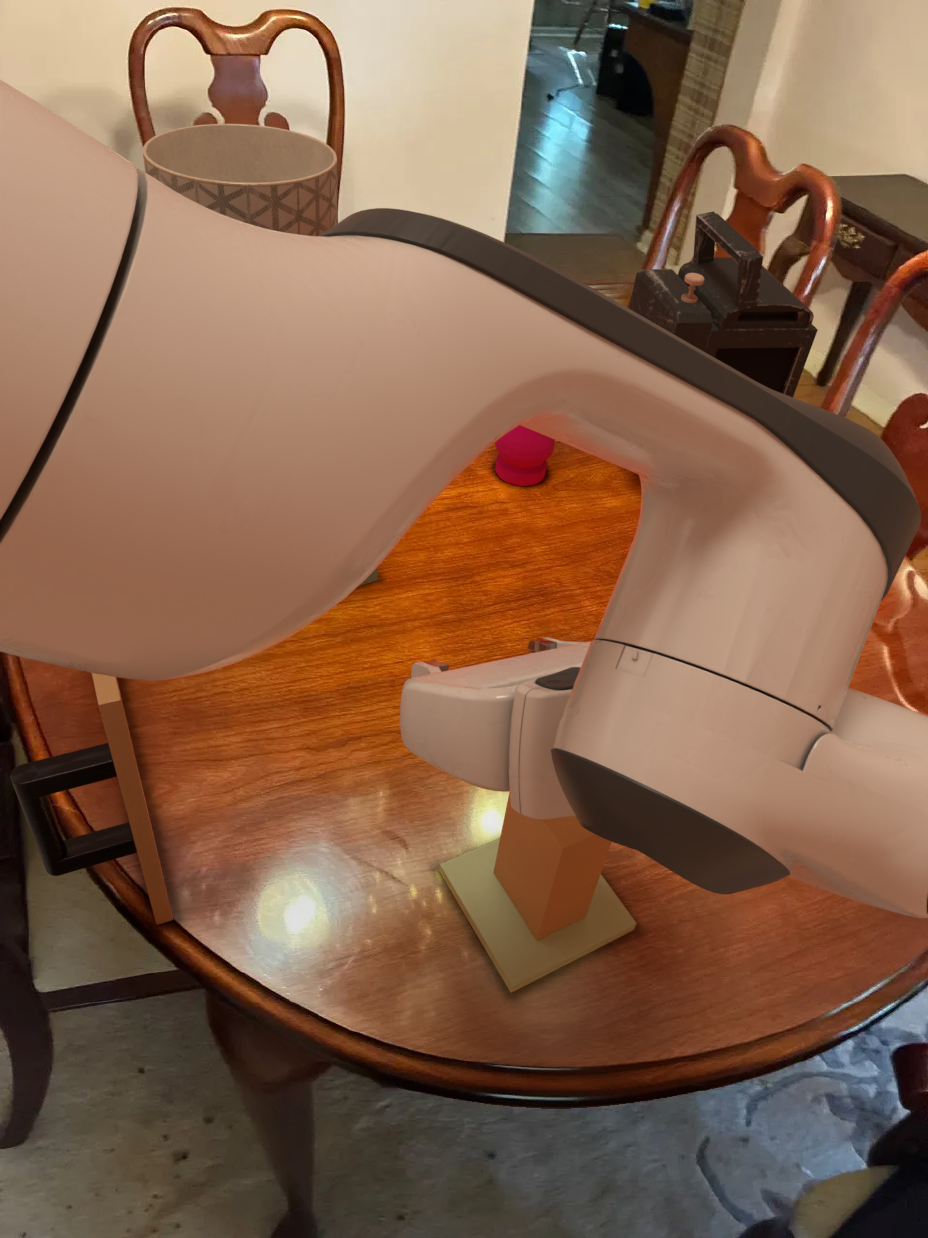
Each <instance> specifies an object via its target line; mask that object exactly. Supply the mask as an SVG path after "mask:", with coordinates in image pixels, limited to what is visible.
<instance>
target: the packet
mask: <svg viewBox="0 0 928 1238" xmlns="http://www.w3.org/2000/svg"><path fill="white" fill-rule="evenodd" d="M499 838H500V842H499V847H498V852H497V856H496V861H495V866H494V871H493V872H494V874H495V875H496V877H497V879H498V880H499V882H500V883H501V885H502V886H503V888H504V890H505V891H506V893H507V894H508V896H509V898H510V899H511V901H512V902H513V904H514V906H515V907H516V909H517V910H518V912H519V914H520V915H521V917H522V918H523V920H524V921H525V923H526V925H527V926H528V928H529V929H530V931H531V933H532V934H533V936H534V937H535V939H536V941H538V940H540V939H542V938H544V937H546V936H548V935H550V934H552V933H554V932H556V931H559V930H561V929H563V928H565V927H567V926H569V925H571V924H573V923H575V922H577V921H579V920H581V919H583V918H585V917H586V915H587V912H588V909H589V906H590V903H591V901H592V898H593V895H594V892H595V889H596V886H597V883H598V880H599V877H600V874H601V875H602V872H603V869H604V865H605V864H606V863H605V862H606V860H607V857H608V854H609V852H610V848H611V845H612V843H613V842H611V841H609V840H606V839H604V838H602V837H600V836H598V835H596V834H594V833H592V832H590V831H588V830H586V829H585V828H583V827H582V826H581V824H580V823H579V821H578V819H577V817H576V816H568V817H561V818H554V819H546V820H536V819H531V818H528V817H526V816H523V815H521V814H520V813H518V812H516V811H515V810H514V809H513V808H512V807H511V802H510V792H508V798H507V802H506V807H505V813H504V818H503V822H502V826H501V833H500V837H499Z"/></svg>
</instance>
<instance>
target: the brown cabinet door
mask: <svg viewBox="0 0 928 1238" xmlns="http://www.w3.org/2000/svg"><path fill="white" fill-rule="evenodd" d="M91 677H92V681H93V687H94V691H95V696H96V700H97V706H98V710H99V713H100V717H101V721H102V724H103V728H104V732H105V736H106V739H107V742H105V743H102V744H98V745H93V746H90V747H86V748H81V749H78V750H74V751H69V752H65V753H61V754H57V755H53V756H50V757H46V758H41V759H37V760H32V761H30V762H25V763H21V764H19V765H17V766H15V767H14V769H12V770H11V773H10V776H9V778H10V781H11V784H12V786H13V789H14V791H15V794H16V797H17V799H18V802H19V805H20V806H21V810H22V811H23V814H24V817H25V820H26V822H27V825H28V827H29V830H30V831H31V835H32V837H33V840H34V842H35V845H36V848H37V851H38V852H39V855H40V858H41V860H42V862H43V865H44V868H45V871H46V873H47V874H48V875H50V876H53V877H59V876H62V875H63V876H64V875H66V874H69V873H73V872H76V871H79V870H83V869H87V868H90V867H93V866H97V865H100V864H104V863H107V862H110V861H113V860H117V859H120V858H123V857H127V856H130V855H134V854H137V856H138V861H139V866H140V868H141V872H142V876H143V880H144V883H145V887H146V891H147V895H148V898H149V902H150V906H151V910H152V913H153V917H154V920H155V921H154V922H155V925H156V926H159V925H161V924H164V923H169V922H171V921H173V920H174V916H173V911H172V907H171V903H170V900H169V895H168V890H167V886H166V882H165V878H164V874H163V870H162V865H161V861H160V860H161V859H160V856H159V852H158V848H157V842H156V839H155V835H154V830H153V826H152V822H151V819H150V814H149V813H150V812H149V810H148V804H147V801H146V797H145V793H144V788H143V784H142V780H141V776H140V775H141V774H140V771H139V767H138V762H137V758H136V755H135V750H134V745H133V740H132V738H131V737H132V736H131V733H130V727H129V724H128V719H127V716H126V712H125V706H124V702H123V698H122V694H121V690H120V685H119V682H118V677H113V676H107V675H101V674H95V673H91ZM114 778H117V781H118V785H119V789H120V793H121V796H122V800H123V804H124V808H125V812H126V815H127V819H128V821H127V822H123V823H120V824H117V825H113V826H110V827H106V828H102V829H99V830H95V831H92V832H88V833H84V834H81V835H77V836H73V837H69V838H67V839H64V836H63V833H62V830H61V828H60V825H59V822H58V819H57V816H56V813H55V811H54V810H55V809H54V808H53V805H52V803H51V799H50V797H49V796H50V795H53V794H56V793H60V792H64V791H65V792H66V791H68V790H71V789H76V788H80V787H82V786H87V785H91V784H94V783H98V782H102V781H106V780H109V779H114Z"/></svg>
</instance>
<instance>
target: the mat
mask: <svg viewBox="0 0 928 1238" xmlns="http://www.w3.org/2000/svg"><path fill="white" fill-rule="evenodd" d="M499 842H500V837H499V838H495V839H494V840H491V841H490V842H487V843H485V844H482V845H480V846H477V847H476V848H473V849H471V850H468V851H466V852H464V853H462V854H459V855H457V856H454V857H453V858H450V859H447V860H445V861H443V862H440V863H439V866H438V872H439V874H440V876H441V877H442V879H443V881H444V882H445V884H446V886H447V887H448V889H449V891H450V892H451V894H452V896H453V897H454V899H455V901H456V902H457V904H458V907H460V910H461V911H462V913H463V914H464V916H465V918H466V919H467V921H468V922H469V924H470V927H471V928H472V930H473V931H474V933H475V935H476V937H477V938H478V940H479V941H480V943H481V945H482V946H483V948H484V950H485V952H486V954H487V955H488V957H489V958H490V961H491V962H492V964H493V965H494V967H495V969H496V970H497V972H498V974H499V976H500V977H501V979H502V981H503V982H504V984H505V986H506V987H507V990H508V991H509V992H510V993H511V994H512V993H514V992H516V991H518V990H519V989H521V988H523V987H525V986H527V985H529V984H532V983H534V982H535V981H537V980H539V979H541V978H543V977H545V976H547V975H548V974H551V973H552V972H555V971H557V970H559V969H561V968H563V967H565V966H566V965H568V964H570V963H572V962H574V961H576V960H578V959H580V958H582V957H584V956H586V955H589V954H590V953H592V952H594V951H595V950H598V949H600V948H601V947H604V946H606V945H607V944H610V943H612V942H614V941H615V940H617V939H619V938H621V937H622V936H625V935H627V934H628V933H631V932H632V931H635V928H636V925H637V922H636V921H635V920H636V919H634V917H633V916H632V915H631V914H630V912H629V911H628V909H627V908H626V906H625V905H624V904H623V903H622V901H621V900H620V898H619V897H618V896H617V894H616V892H615V891H614V890H613V888H612V887H611V886H610V885H609V883H608V882H607V880H606V879H605V878H604V876H603V875H602V873H601V874H600V877H599V880H598V883H597V886H596V889H595V892H594V895H593V898H592V901H591V903H590V906H589V909H588V912H587V915H586V917H585V918H583V919H581V920H579V921H577V922H575V923H573V924H571V925H569V926H567V927H565V928H563V929H561V930H559V931H556V932H554V933H552V934H550V935H548V936H546V937H544V938H542V939H540V940H538V941H536V939H535V937H534V936H533V934H532V933H531V931H530V929H529V928H528V926H527V925H526V923H525V921H524V920H523V918H522V917H521V915H520V914H519V912H518V910H517V909H516V907H515V906H514V904H513V902H512V901H511V899H510V898H509V896H508V894H507V893H506V891H505V890H504V888H503V886H502V885H501V883H500V882H499V880H498V879H497V877H496V875H495V874H494V872H493V871H494V866H495V861H496V856H497V852H498V847H499Z"/></svg>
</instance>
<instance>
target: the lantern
mask: <svg viewBox="0 0 928 1238" xmlns="http://www.w3.org/2000/svg"><path fill="white" fill-rule="evenodd" d="M693 241H694V242H693V254H692V255H693V257H692V260H691V261H688V262H686V263H683V264H682V265H681V266H680V267H679V269H678V272H677V273H676V271H674V269H672V268H660V269H659V268H641V269H639V270H638V272H636V274H635V278H634V283H633V289H632V293H631V296H630V297H631V298H630V301H629V306H628V308H629V309H630V310H632V311H634V312H636V313H637V314H639V315H641V316H643V317H644V318H646V319H648V320H649V321H651V322H653V323H655V324H656V325H658V326H660V327H662V328H663V329H665V330H667V331H669V332H670V333H672V334H674V335H676V336H677V337H679V338H681V339H682V340H684V341H686V342H688V343H689V344H691V345H693V346H695V347H696V348H698V349H700V350H702V351H703V352H705V353H707V354H709V355H710V356H712V357H714V358H716V359H718V360H719V361H721V362H723V363H725V364H726V365H728V366H730V367H732V368H733V369H735V370H737V371H739V372H740V373H742V374H744V375H746V376H747V377H749V378H751V379H753V380H754V381H756V382H758V383H760V384H762V385H764V386H766V387H768V388H770V389H772V390H774V391H777V392H779V393H782V394H785V395H787V396H790V397H793V398H794V397H795V393H796V391H797V388H798V385H799V383H800V382H799V381H800V379H801V377H802V374H803V372H804V369H805V366H806V363H807V360H808V357H809V355H810V352H811V350H812V347H813V344H814V341H815V338H816V336H817V333H818V330H819V329H818V328H817V327H816V326H815V325H814V324H813V321H814V317H815V315H814V312H813V311H812V309H810V308H809V307H808V306H807V305H806V304H805V303H803V302H802V301H801V300H800V299H799V298H798V297H797V296H796V295H795V294H794V293H793V292H792V291H790V289H789V288H787V287H786V286H785V285H784V284H783V283H782V282H781V281H780V280H779V279H778V278H776V276H775V275H774V274H773V273H771V272H770V271H769V270H768V269H767V268H766V267H765V266H764V265H763V263H764V256H763V255H762V254H761V253H760V252H759V250H758V249H757V248H756V247H755V246H754V245H753V244H751V242H749V240H747V239H746V237H744V236H743V235H742V234H740V233H739V231H737V230H736V228H734V227H733V226H732V225H730V223H728V222H727V221H726V220H725V219H724V218H723V217H722V216H721V215H719V213H716V211H709V212H708V211H707V212H704V213H698V214H695V227H694V240H693ZM716 245H718V246H719V247H720V248H721V250H723V252H724V253H726V254H727V255H728V256H729V257H728V256H715V250H716Z"/></svg>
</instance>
